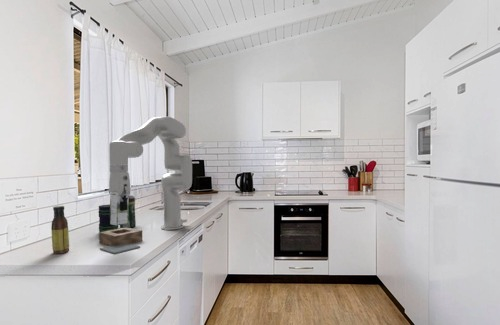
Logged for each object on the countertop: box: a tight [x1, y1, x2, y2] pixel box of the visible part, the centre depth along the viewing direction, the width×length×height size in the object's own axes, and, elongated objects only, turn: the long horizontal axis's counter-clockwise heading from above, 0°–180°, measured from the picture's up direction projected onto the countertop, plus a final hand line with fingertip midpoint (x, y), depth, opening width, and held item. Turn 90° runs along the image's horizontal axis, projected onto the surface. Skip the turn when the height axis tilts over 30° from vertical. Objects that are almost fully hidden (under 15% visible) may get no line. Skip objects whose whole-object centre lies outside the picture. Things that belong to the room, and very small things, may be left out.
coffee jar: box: [119, 195, 137, 229], centre depth 189 cm, size 10×8×19 cm
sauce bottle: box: [51, 205, 70, 255], centre depth 137 cm, size 7×6×20 cm
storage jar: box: [98, 204, 120, 233], centre depth 174 cm, size 10×10×15 cm
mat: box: [99, 243, 141, 255], centre depth 141 cm, size 12×12×1 cm
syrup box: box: [109, 192, 128, 226], centre depth 141 cm, size 6×6×14 cm
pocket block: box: [98, 227, 143, 246], centre depth 154 cm, size 14×14×5 cm
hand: (119, 209), depth 141 cm, fingers closed on syrup box, 5 cm apart
